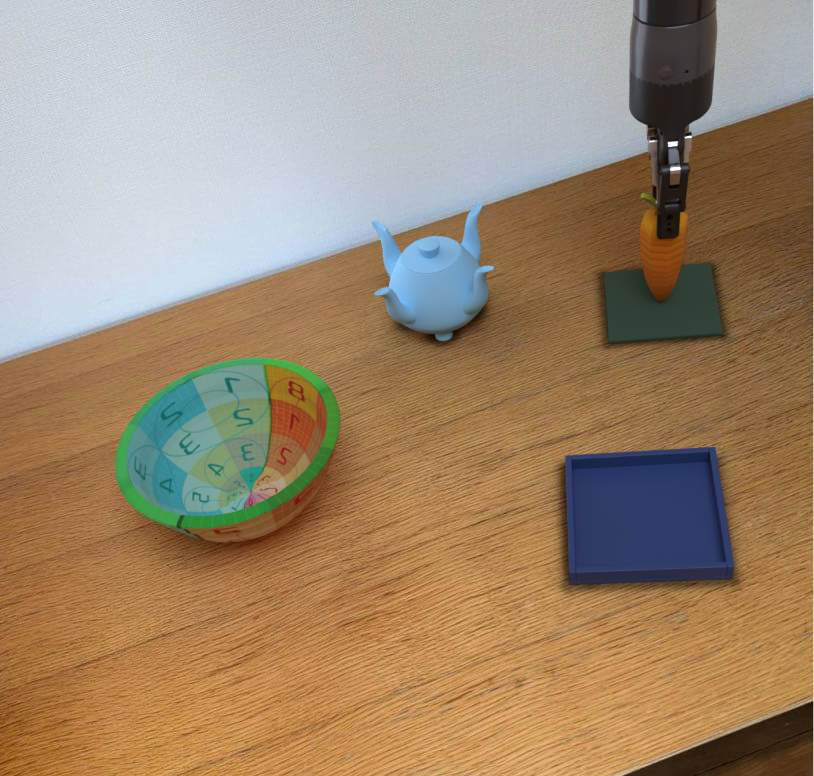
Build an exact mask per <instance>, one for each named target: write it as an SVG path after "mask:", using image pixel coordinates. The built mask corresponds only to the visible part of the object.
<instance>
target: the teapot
mask: <svg viewBox="0 0 814 776" xmlns="http://www.w3.org/2000/svg"><path fill="white" fill-rule="evenodd" d="M482 208H483V203H481V202H479V203H477V204H475V205H474V206H473V207H472V208H471V209H470V210H469V212H468V214H467V217H466V220H465V224H464V231H463V238H462V241H461V243H460V242H458V241H456V240H455V239H453V238H451V237H447V236H441V235H432V236H431V235H430V236H426V237H422V238H419V239H417V240H415V241H413V242H412V243H410V244H409V245H408V246H407V247H406V248H405V249H404V250H403V251H401V250H400V248H399V246H398V245H397V242H396V240H395V239H394V237H393V235H392V233H391V232H390V231H389V229H388V228H387V226H385V225H384V224H383V223H382V222H380V221H377V220H372V221H371V224H372V225H371V226H372V228H373V229H374V230H375V232H376V233H377V235H378V237H379V239H380V243H381V247H382V260H383V265H384V268H385V270H386V273H387V275H388V277H389V278H390V279H389V284H388V286H385V287H381V288H379V289H377V290H376V291H375V292H374V296H376V297H383V299H384V302H385V308H386V311H387V313H388V315H389V317H390V318H391V319H392V320H393V321H395V322H397V323H400V324H401V325H403V326H405V327H406V328H409V329H410V330H412V331H415V332H418V333H422V334H427V335H435V339H436V340H438V341H441V342H445V341H448V340H451V338H452V337H453V336H454V333H453V331H456V330H459V329H460V328H463V327H464V326H466V325H467V324H469V323H470V322H471V321H472V320H474V318H475V317H477V315H478V314H479V313H480V312H481V311H482V310H483V308H484V307H485V306H486V304H487V302H488V300H489V297H490V289H489V283H488V280H487V276H488V274H489V273H490V272H491V271H493V270H494V269H495V267H494V266H493V265H483V266H481V265H480V259H481V256H482V245H481V239H480V235H479V228H478V221H479V216H480V213H481V211H482Z"/></svg>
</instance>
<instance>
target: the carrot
mask: <svg viewBox="0 0 814 776" xmlns="http://www.w3.org/2000/svg"><path fill="white" fill-rule="evenodd" d="M640 199H641V200H644V201H646V202H648V203H649V204H650V205H651V206H652V208H650V209H648V210H647V211H646V210H645V212H644V215H643V218H642V220H641V223H640V226H639V227H640V228H639V246H640V260H641V261H640V262H641V267H642V269H643V271H644V275H645V280H646V282H647V284H648V286H649V289H650V290H651V292H652V293H653V295H654V296H655V298H656V299H657V300H658V301H661V302H662V301H664V300H665V299H667V297H668V296H669V295H670V293H671V292H672V290H673V288H674V286H675V284H676V282H677V279H678V275H679V272H680V269H681V265H683V261H684V257H685V254H686V247H687V240H688V232H689V231H688V230H689V216H688V214H687V213H686V211H685V212H680V228H679V236H678V237H677V238H673V239H662V240H660V239H658V238H657V234H656V225H657V206H655V200H657V198H656V199H655V198H654V197H653V196H652V194H649V193H645V192H642V193H641V194H640Z"/></svg>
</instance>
